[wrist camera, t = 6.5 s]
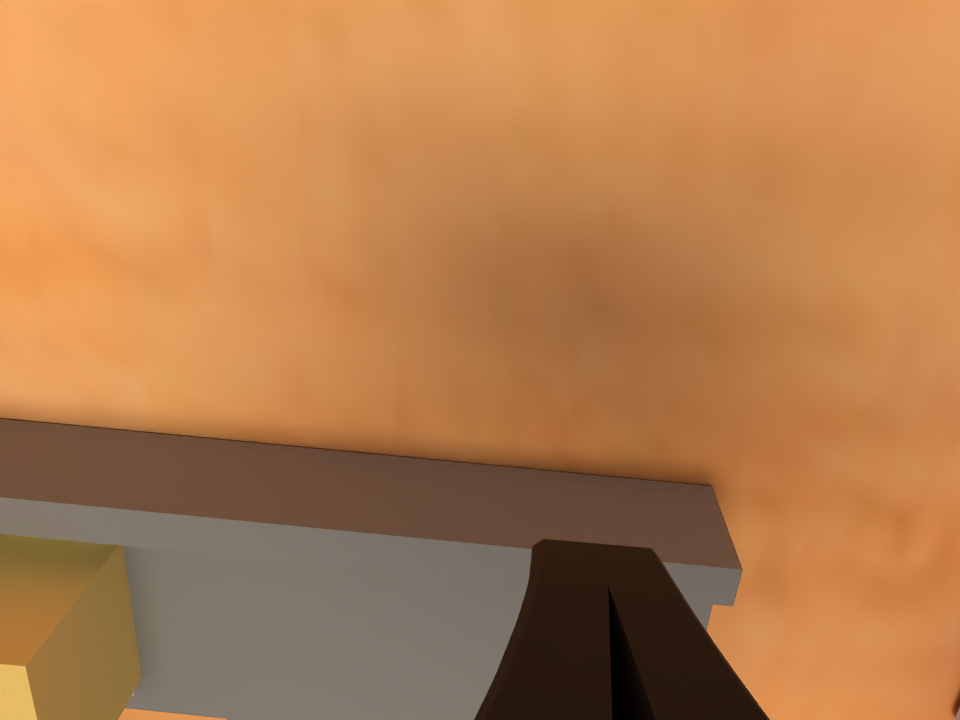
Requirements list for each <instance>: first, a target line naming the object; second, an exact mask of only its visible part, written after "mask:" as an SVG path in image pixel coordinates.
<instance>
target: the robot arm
mask: <svg viewBox="0 0 960 720" xmlns="http://www.w3.org/2000/svg"><path fill="white" fill-rule="evenodd" d="M474 720H770V719H769V718H768V717H767V715H766V714H765V713H764V711H763V710H762V709H761V707H760V706H759V705H758V703H757V702H756V700H755V699H754V698H753V696H752V695H751V694H750V692H749V691H748V689H747V688H746V687H745V685H744V684H743V683H742V681H741V680H740V678H739V677H738V676H737V674H736V673H735V672H734V670H733V669H732V667H731V666H730V665H729V663H728V662H727V661H726V659H725V658H724V656H723V655H722V653H721V652H720V650H719V649H718V648H717V646H716V645H715V643H714V642H713V640H712V639H711V637H710V636H709V634H708V633H707V631H706V630H705V628H704V627H703V625H702V624H701V622H700V621H699V619H698V618H697V616H696V615H695V613H694V612H693V610H692V609H691V607H690V606H689V604H688V603H687V601H686V599H685V598H684V596H683V595H682V593H681V592H680V590H679V588H678V587H677V585H676V584H675V582H674V580H673V579H672V577H671V576H670V574H669V572H668V571H667V569H666V568H665V566H664V564H663V563H662V561H661V559H660V558H659V557H658V555H657V554H656V553H655V552H654V551H653V549H652V548H644V547H633V546H621V545H610V544H598V543H587V542H575V541H563V540H552V539H542V540H541V541H539V542H538V543H536V544H535V545H533V546H532V554H531V563H530V572H529V581H528V585H527V589H526V593H525V596H524V600H523V603H522V606H521V609H520V612H519V615H518V619H517V622H516V624H515V627H514V629H513V632H512V635H511V637H510V640H509V642H508V645H507V647H506V650H505V652H504V655H503V657H502V660H501V662H500V665H499V667H498V670H497V672H496V675H495V677H494V679H493V681H492V684H491V686H490V688H489V690H488V692H487V694H486V696H485V698H484V700H483V702H482V704H481V706H480V708H479V710H478V713H477V715H476V717H475V719H474ZM956 720H960V708H959V710H958V712H957V714H956Z"/></svg>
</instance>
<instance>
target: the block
mask: <svg viewBox="0 0 960 720" xmlns="http://www.w3.org/2000/svg"><path fill="white" fill-rule="evenodd" d="M141 678H142V677H141V670H140V663H139V656H138V649H137V642H136V634H135V627H134V620H133V613H132V606H131V599H130V592H129V585H128V578H127V571H126V564H125V557H124V550H123V546H118V545H108V544H98V543H88V542H78V541H68V540H58V539H48V538H37V537H27V536H17V535H7V534H0V720H118V718H119V716H120V715H121V713H122V711H123V710H124V708H125V706H126V704H127V703H128V701H129V699H130V697H131V696H132V694H133V692H134V691H135V689H136V687H137V685H138V684H139V682H140V680H141Z"/></svg>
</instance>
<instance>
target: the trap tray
mask: <svg viewBox="0 0 960 720" xmlns="http://www.w3.org/2000/svg"><path fill="white" fill-rule="evenodd" d="M0 534H7V535H17V536H27V537H37V538H48V539H58V540H68V541H78V542H88V543H98V544H108V545H118V546H123V550H124V557H125V564H126V571H127V578H128V585H129V592H130V599H131V606H132V613H133V620H134V627H135V634H136V642H137V649H138V656H139V663H140V670H141V677H142V678H141V680H140V682H139V684H138V685H137V687H136V689H135V691H134V692H133V694H132V696H131V697H130V699H129V701H128V703H127V704H126V706H125V708H130V709H140V710H149V711H159V712H169V713H178V714H188V715H197V716H207V717H217V718H226V719H228V720H474V719H475V717H476V715H477V713H478V710H479V708H480V706H481V704H482V702H483V700H484V698H485V696H486V694H487V692H488V690H489V688H490V686H491V684H492V681H493V679H494V677H495V675H496V672H497V670H498V667H499V665H500V662H501V660H502V657H503V655H504V652H505V650H506V647H507V645H508V642H509V640H510V637H511V635H512V632H513V629H514V627H515V624H516V622H517V619H518V615H519V612H520V609H521V606H522V603H523V600H524V596H525V593H526V589H527V585H528V581H529V572H530V563H531V554H532V546H533V545H535V544H536V543H538V542H539V541H541V540H542V539H552V540H563V541H575V542H587V543H598V544H610V545H621V546H633V547H644V548H652V549H653V551H654V552H655V553H656V554H657V555H658V557H659V558H660V559H661V561H662V563H663V564H664V566H665V568H666V569H667V571H668V572H669V574H670V576H671V577H672V579H673V580H674V582H675V584H676V585H677V587H678V588H679V590H680V592H681V593H682V595H683V596H684V598H685V599H686V601H687V603H688V604H689V606H690V607H691V609H692V610H693V612H694V613H695V615H696V616H697V618H698V619H699V621H700V622H701V624H702V625H703V627H704V628H705V630H706V629H707V625H708V621H709V617H710V613H711V609H712V605H713V604H716V605H726V606H733V604H734V601H735V597H736V593H737V589H738V586H739V582H740V578H741V574H742V570H743V569H742V567H741V564H740V561H739V558H738V556H737V553H736V550H735V548H734V545H733V542H732V540H731V537H730V534H729V531H728V529H727V526H726V523H725V521H724V518H723V515H722V512H721V510H720V507H719V504H718V502H717V499H716V496H715V494H714V491H713V488H712V486H704V485H693V484H683V483H672V482H662V481H651V480H641V479H630V478H620V477H609V476H599V475H588V474H578V473H567V472H557V471H546V470H536V469H525V468H515V467H504V466H494V465H483V464H472V463H462V462H451V461H441V460H430V459H420V458H409V457H399V456H388V455H378V454H367V453H357V452H346V451H336V450H325V449H315V448H304V447H294V446H283V445H273V444H262V443H252V442H241V441H231V440H220V439H209V438H199V437H188V436H178V435H167V434H157V433H146V432H136V431H125V430H115V429H104V428H94V427H83V426H73V425H62V424H52V423H41V422H31V421H20V420H10V419H0Z"/></svg>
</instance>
